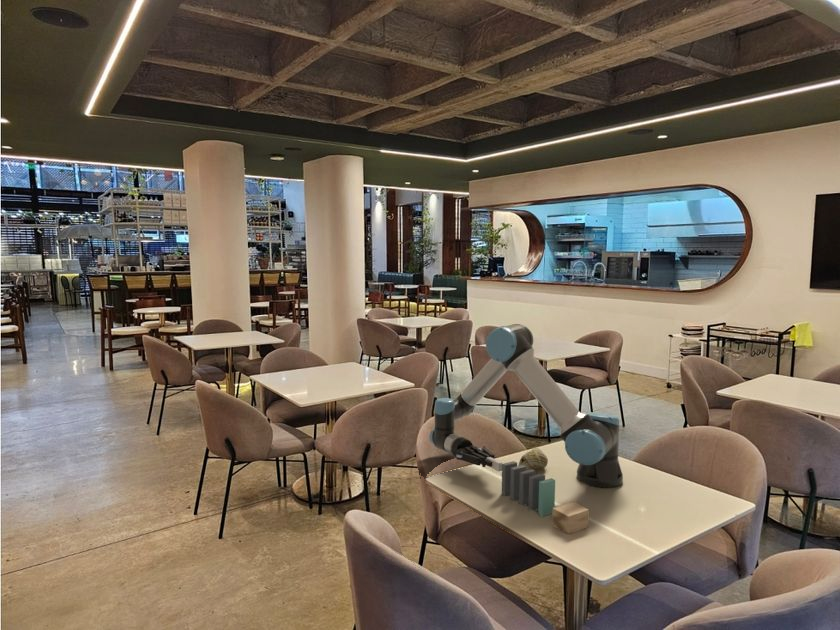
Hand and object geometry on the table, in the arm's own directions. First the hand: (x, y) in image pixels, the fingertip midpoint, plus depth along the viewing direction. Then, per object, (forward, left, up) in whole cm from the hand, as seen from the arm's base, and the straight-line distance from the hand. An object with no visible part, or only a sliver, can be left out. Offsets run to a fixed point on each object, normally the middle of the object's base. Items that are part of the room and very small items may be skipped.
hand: (500, 467), depth 176 cm
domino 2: (-4, +8, -7) cm, 11 cm away
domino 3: (-6, +11, -7) cm, 15 cm away
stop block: (-13, +27, -7) cm, 31 cm away
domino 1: (-2, +4, -7) cm, 9 cm away
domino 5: (-9, +19, -7) cm, 22 cm away
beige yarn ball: (-17, -16, -8) cm, 25 cm away
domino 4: (-7, +15, -7) cm, 18 cm away
